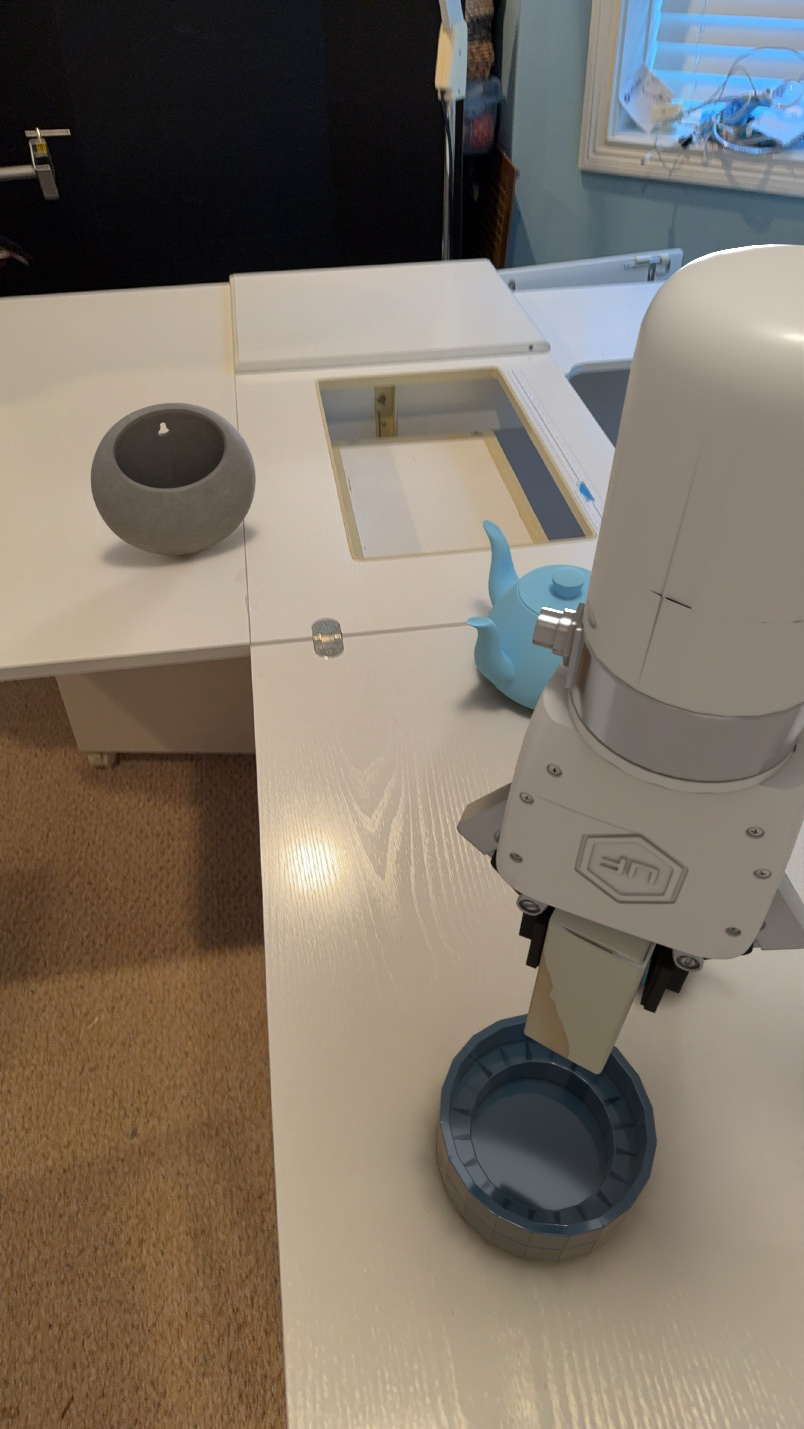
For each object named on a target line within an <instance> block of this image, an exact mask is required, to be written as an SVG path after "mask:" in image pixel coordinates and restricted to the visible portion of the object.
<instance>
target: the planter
mask: <svg viewBox="0 0 804 1429" xmlns="http://www.w3.org/2000/svg"><path fill="white" fill-rule="evenodd" d="M161 424H165V428H166V429H167V430H168V431H166V432H160V431H161ZM256 477H257V474H256V467H255V461H254V459H253V455H252V453H251V450H250V448H249V446H248V444H247V442H246V441H245V439H244V437H243V436H242V435H241V433H240V432H239V431H238V429H236V427H235V426H234V425H233V424H232V423H231V422H230V421H229V420H227V419H226V418H225V417H223V416H222V415H220V413H217V412H215V411H213V410H211V409H209V408H207V407H204V406H200V405H198V404H193V403H184V402H164V403H157V404H152V405H148V406H145V407H142V408H139V409H136V410H135V411H132V412H130V413H128V414H127V415H125V416H123V417H122V418H120V419H119V420H118V421H117V422H115V423H114V424H113V426H111V427H110V428H109V429H108V430H107V432H106V433H105V434H104V435H103V436H102V438H101V440H100V442H99V443H98V446H97V448H96V451H95V453H94V456H93V459H92V462H91V468H90V488H91V494H92V499H93V502H94V504H95V507H96V509H97V512H98V513H99V516H100V517H101V519H102V520H103V522H104V523H105V525H106V526H107V527H108V528H109V530H110V531H112V533H113V534H114V535H115V536H117V537H118V538H119V539H120V540H122V541H123V542H125V543H126V544H127V545H130V546H131V547H134V548H136V549H137V550H141V551H144V552H146V553H151V554H154V555H162V556H183V555H189V554H195V553H199V552H201V551H205V550H207V549H209V548H211V547H214V546H215V545H217V544H219V543H221V542H223V541H224V540H225V539H226V538H228V537H229V536H231V534H233V533H234V532H235V531H236V530H237V529H238V528H239V527H240V526H241V524H242V523H243V521H244V520H245V518H246V516H247V515H248V513H249V511H250V509H251V506H252V503H253V501H254V498H255V497H254V496H255V492H256V481H257V480H256V479H257V478H256Z"/></svg>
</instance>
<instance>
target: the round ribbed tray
mask: <svg viewBox="0 0 804 1429" xmlns="http://www.w3.org/2000/svg"><path fill="white" fill-rule="evenodd" d="M527 1016H528V1013H525V1014H520V1015H516V1016H510V1017H507V1018H503V1019H499V1020H496V1021H495V1022H493V1023H492V1024H490V1025H488V1026H487V1027H484V1028H483V1029H481V1030H480V1031H478V1032H477V1033H475V1034H473V1035H472V1036H471V1037H470V1038H469V1040H468V1041H467V1042H466V1043H465V1044H464V1045H463V1046H462V1047H461V1049H460V1050H459V1051H458V1053H457V1054H456V1055H455V1056H454V1057H453V1059H452V1060H451V1064H450V1065H449V1068H448V1071H447V1074H446V1075H445V1077H444V1078H445V1079H444V1081H443V1084H442V1086H441V1090H440V1091H441V1092H440V1099H439V1111H438V1121H437V1133H436V1134H437V1135H436V1136H437V1137H436V1157H437V1163H438V1167H439V1170H440V1175H441V1178H442V1182H443V1186H444V1188H445V1191H446V1192H447V1194H448V1196H449V1197H450V1199H451V1201H452V1202H453V1205H454V1206H455V1207H456V1210H457V1211H458V1213H459V1215H460V1216H461V1218H463V1220H464V1221H465V1223H467V1224H468V1225H469V1226H470V1227H471V1228H472V1229H474V1230H475V1232H476V1233H477V1234H478V1235H480V1236H481V1237H482V1238H483V1239H484V1240H485V1241H486V1242H487V1243H489V1244H490V1245H492V1246H494V1247H496V1248H498V1249H501V1250H503V1251H504V1252H507V1253H509V1254H512V1255H513V1256H515V1257H518V1258H520V1259H523V1260H531V1261H540V1262H542V1261H543V1262H551V1263H557V1262H558V1263H559V1262H562V1261H567V1260H570V1259H573V1258H577V1257H581V1256H585V1255H588V1254H591V1253H592V1252H594V1251H595V1250H596V1249H598V1248H599V1247H600V1246H601V1245H603V1244H605V1242H607V1241H608V1240H609V1239H610V1238H612V1237H613V1236H614V1235H615V1234H616V1233H617V1232H618V1231H619V1229H620V1227H621V1226H622V1224H623V1222H624V1221H625V1219H626V1217H627V1216H628V1214H629V1213H630V1211H631V1209H632V1208H633V1207H634V1206H635V1203H636V1202H637V1200H638V1198H639V1197H640V1195H641V1193H642V1192H643V1190H644V1189H645V1186H646V1185H647V1183H648V1182H649V1180H650V1179H651V1176H652V1171H653V1167H654V1166H653V1165H654V1162H655V1161H654V1160H655V1156H656V1150H657V1144H658V1138H657V1131H656V1130H657V1129H656V1122H655V1112H654V1108H653V1104H652V1102H651V1100H650V1098H649V1095H648V1093H647V1091H646V1088H645V1086H644V1084H643V1081H642V1078H641V1076H640V1075H639V1073H638V1072H637V1071H636V1069H635V1068H634V1067H633V1066H632V1064H631V1063H630V1062H629V1060H627V1058H626V1056H624V1054H623V1053H622V1052H621V1051H620V1049H619V1048H618V1047H617V1046H615V1045H614V1046H613V1049H612V1051H611V1053H610V1055H609V1057H608V1059H607V1062H606V1064H605V1066H604V1068H603V1070H602V1071H601V1073H599V1074H595V1073H593V1072H591V1071H589V1070H587V1069H585V1068H583V1067H582V1066H580V1065H578V1064H576V1063H574V1062H572V1061H570V1060H569V1059H567V1058H565V1057H563V1056H561V1055H560V1054H558V1053H556V1052H554V1051H552V1050H551V1049H549V1048H547V1047H546V1046H544V1045H542V1044H540V1043H539V1042H537V1041H535V1040H533V1039H532V1038H530V1037H528V1036H527V1035H525V1034H524V1029H525V1024H526V1020H527Z"/></svg>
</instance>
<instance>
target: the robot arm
mask: <svg viewBox="0 0 804 1429" xmlns="http://www.w3.org/2000/svg"><path fill="white" fill-rule="evenodd" d="M627 380H628V381H627V386H626V390H625V396H624V401H623V407H622V412H621V417H620V422H619V427H618V432H617V438H616V441H615V442H616V443H615V449H614V454H613V459H612V463H611V470H610V474H609V480H608V485H607V490H606V495H605V501H604V505H603V509H602V510H603V511H602V516H601V522H600V526H599V531H598V537H597V542H596V547H595V552H594V557H593V562H592V567H591V571H592V572H591V577H590V582H589V587H588V592H587V597H586V602H585V604H584V603H579V605H578V607H577V610H576V611H574V610H570V609H565V610H564V611H563V612H562V611H558V610H554V609H550V608H546V607H543V608H542V609H541V611H540V613H539V616H538V619H537V622H536V625H535V629H534V633H533V640H532V643H533V644H534V645H538V646H542V647H545V648H549V649H553V651H552V653H553V654H555V655H559V656H562V658H563V661H562V662H561V663H560V664H559V666H558V667H557V669H556V671H555V673H554V675H553V676H552V677H551V678H550V680H549V681H548V683H547V685H546V687H545V688H544V690H543V692H542V694H541V696H540V698H539V701H538V703H537V705H536V707H535V709H534V710H533V712H532V713H531V714H532V715H531V717H530V720H529V722H528V725H527V728H526V731H525V734H524V737H523V739H522V742H521V747H520V749H519V750H520V751H519V754H518V756H517V757H518V758H517V760H516V761H517V762H516V765H515V768H514V772H513V775H512V780H511V782H509V783H507V784H505V785H503V786H501V787H499V788H497V789H495V790H493V791H491V792H489V793H488V794H485V795H484V796H482V797H479V798H477V799H476V800H474V801H472V802H470V803H467V805H466V807H465V809H464V811H463V813H462V815H461V817H460V819H459V821H458V823H457V825H456V830H457V833H459V834H460V835H461V836H462V837H463V839H465V840H466V841H468V843H470V844H471V845H472V846H473V847H474V848H476V850H478V852H480V853H481V854H482V855H483V856H486V855H487V856H488V857H489V858H490V865H491V867H492V869H494V871H495V872H496V873H497V874H498V875H499V876H500V877H501V879H502V880H503V881H504V882H505V883H506V884H507V885H508V886H510V887H511V889H512V890H514V892H515V893H516V894H517V895H518V897H517V900H516V902H515V903H516V906H517V908H518V910H520V911H521V912H522V914H521V921H520V925H519V931H518V936H519V937H523V938H524V939H528V940H530V943H529V946H528V947H529V948H528V953H527V957H526V962H525V966H527V967H530V968H532V969H535V970H537V969H538V968H539V964H540V960H541V955H542V951H543V947H544V943H545V938H546V934H547V930H548V925H549V920H550V918H551V916H552V914H553V912H554V910H555V908H558V909H561V910H564V911H567V912H569V913H572V914H575V915H578V916H580V917H583V918H586V919H589V920H592V921H594V922H597V923H600V924H603V925H606V926H608V927H611V928H614V929H617V930H620V931H623V932H626V933H628V934H631V935H634V936H637V937H640V938H643V939H646V940H649V941H652V942H655V943H657V944H656V947H655V950H654V952H653V955H652V957H651V961H650V965H649V969H648V973H647V977H646V981H645V986H643V990H642V993H641V998H640V1002H639V1005H640V1006H643V1010H645V1011H647V1012H650V1013H653V1014H656V1012H657V1010H658V1007H659V1005H660V1003H661V1001H662V999H663V996H664V994H665V992H666V990H668V991H670V992H673V993H676V994H679V993H680V992H681V990H682V988H683V985H684V984H685V982H686V980H687V977H688V975H689V973H696V972H697V973H698V972H700V971H701V970H703V967H704V963H705V961H708V960H731V959H732V960H733V959H736V958H738V957H741V956H748V955H750V954H751V953H752V952H753V950H754V949H758V948H759V949H760V950H761V951H784V950H785V951H787V950H802V949H803V950H804V902H803V900H802V898H801V897H800V895H799V893H798V892H797V890H796V888H795V886H794V885H793V883H792V881H791V880H790V878H789V876H788V874H787V873H786V869H787V866H788V864H789V862H790V858H791V856H792V854H793V851H794V849H795V846H796V843H797V840H798V836H799V834H800V831H801V828H802V825H803V822H804V245H803V244H801V245H800V244H761V245H749V246H743V247H737V248H730V249H724V250H720V251H716V252H711V253H709V254H706V255H703V256H701V257H699V258H696V259H694V260H692V261H690V262H688V263H687V264H685V265H684V266H682V267H681V268H679V269H678V270H676V271H675V272H674V273H673V274H671V276H670V277H669V278H668V279H667V280H666V281H665V282H664V283H663V284H662V285H661V286H660V287H659V288H658V290H657V291H656V293H655V294H654V296H653V298H652V299H651V301H650V303H649V305H648V306H647V309H646V311H645V313H644V315H643V318H642V320H641V322H640V328H639V331H638V335H637V338H636V343H635V346H634V351H633V354H632V359H631V363H630V370H629V375H628V379H627Z"/></svg>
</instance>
